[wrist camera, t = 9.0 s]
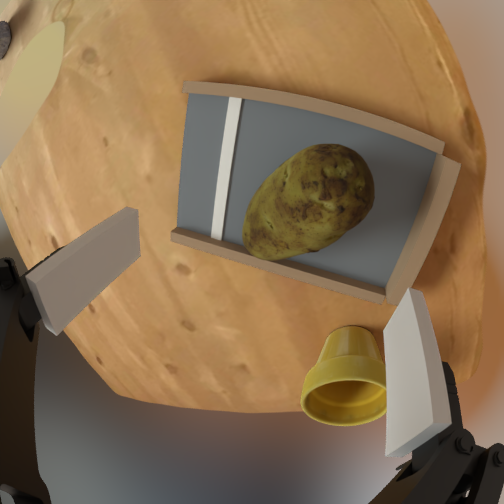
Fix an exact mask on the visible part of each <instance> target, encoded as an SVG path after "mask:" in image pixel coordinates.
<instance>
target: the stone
mask: <svg viewBox="0 0 504 504" xmlns="http://www.w3.org/2000/svg"><path fill="white" fill-rule="evenodd" d="M10 39H11V36H10V29H9V25H8V23H7V22H5V21H0V60H1V58H2V57H3V56H4V54H5V53H6V51H7V49H8V45H9V43H10Z"/></svg>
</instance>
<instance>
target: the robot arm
mask: <svg viewBox="0 0 504 504" xmlns="http://www.w3.org/2000/svg"><path fill="white" fill-rule="evenodd" d="M140 256H141V255H140V241H139V220H138V210H137V209H133V208H129V207H125V208H124V209H122V210H120V211H119V212H117V213H115V214H114V215H112V216H111V217H109V218H107V219H106V220H104V221H103V222H101V223H99V224H98V225H96V226H95V227H93V228H92V229H90V230H89V231H87V232H86V233H84V234H83V235H81V236H80V237H78V238H77V239H75V240H74V241H72V242H71V243H69V244H68V245H66V246H63V247H61V248H58V249H57V250H56V251H54V252H53V253H51V254H50V256H47V257H46V258H44V260H42V261H40V262H39V263H38V264H36V265H35V266H34V267H32V268H31V269H30V270H29V271H27V272H26V273H25V274H23V275H22V276H21V277H19V274H18V271H17V268H16V266H15V262H14V260H13V259H12V258H2V259H0V490H2V491H5V492H7V493H9V494H10V495H11V496H12V498H13V499H14V502H15V504H51V500H50V495H49V492H48V489H47V486H46V484H45V483H44V482H43V480H42V479H41V477H40V474H39V470H38V463H37V454H36V443H35V428H34V381H35V364H36V354H37V345H38V337H39V336H38V335H39V329H40V328H39V323H38V321H39V320H40V319H41V318H42V320H43V322H44V324H45V326H46V328H47V329H48V330H50V331H51V332H53V333H54V334H55V335H58V334H59V333H60V332H61V331H62V330H63V329H64V328H65V327H66V326H67V325H68V324H69V323H70V322H71V321H72V320H73V319H74V318H75V317H76V316H77V315H78V314H79V313H80V312H81V311H82V310H83V309H84V308H85V307H86V306H87V305H88V304H89V303H90V302H91V301H92V300H93V299H94V298H95V297H96V296H98V295H99V294H100V293H101V292H102V291H103V290H104V289H105V288H106V287H107V286H108V285H109V284H110V283H111V282H112V281H114V280H115V279H116V278H117V277H118V276H119V275H120V274H121V273H122V272H123V271H125V270H126V269H127V268H128V267H129V266H130V265H131V264H132V263H133V262H135V261H136V260H137V259H138V258H139V257H140ZM383 335H384V348H385V363H386V388H387V427H386V451H385V456H388V457H404V456H405V455H407V454H409V453H410V452H412V459H411V460H409V461H407V462H405V463H404V464H402V465H400V466H399V467H397V468H396V470H399V469H401V468H402V469H401V470H400V471H399V472H398V474H397V475H396V476H395V477H394V478H393V479H392V480H391V481H390V483H388V485H386V487H385V488H384V489H383V490H382V491H381V492H380V493H379V494H378V495H377V496H376V497H375V498H374V499H373V500H372V501H370V502H369V503H368V504H498V502H499V498H500V495H501V491H502V488H503V484H504V445H503V444H500V443H496V444H494V445H492V446H491V447H489V448H488V449H486V448H483V447H480V446H478V445H476V444H475V441H474V437H473V436H472V434H471V433H470V432H469V431H468V430H466V429H463V424H462V417H461V410H460V404H459V398H458V395H457V388H456V386H455V385H456V383H455V378H454V373H453V371H452V370H451V368H450V366H449V364H448V363H447V362H442V361H441V357H440V353H439V349H438V345H437V341H436V337H435V333H434V329H433V326H432V322H431V319H430V315H429V312H428V308H427V305H426V302H425V299H424V296H423V293H422V291H419V290H416V289H412V288H409V287H408V289H407V291H406V293H405V294H404V296H403V298H402V300H401V301H400V303H399V305H398V307H397V308H396V310H395V312H394V314H393V315H392V317H391V319H390V320H389V322H388V323H387V325H386V327H385V328H384V330H383ZM468 490H470V491H469V494H468V497H465V496H466V492H467V491H468ZM0 504H2V502H1V497H0Z"/></svg>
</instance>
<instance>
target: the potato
mask: <svg viewBox="0 0 504 504" xmlns="http://www.w3.org/2000/svg"><path fill="white" fill-rule="evenodd" d="M374 194H375V187H374V180H373V176H372V173H371V171H370V169H369V167H368V165H367V163H366V162H365V160H364V159H363V158H362V157H361V155H359V154H358V153H357V152H356V151H354V150H353V149H350V148H348V147H346V146H343V145H340V144H316V145H312V146H309V147H307V148H305V149H303V150H301V151H299V152H298V153H296V154H295V155H293V156H292V157H290V158H289V159H288V160H286V161H285V162H284V163H282V164H281V165H280V166H279V167H278V168H277V169H276V170H275V171H274V172H273V173H272V174H271V175H270V176H268V177H267V178H266V179H265V181H264V182H263V183H262V184H261V186H260V187H259V188H258V190H257V191H256V192H255V194H254V195H253V197H252V199H251V201H250V203H249V205H248V208H247V211H246V214H245V218H244V223H243V228H242V240H243V244H244V246H245V248H246V249H247V250H248V251H249V252H250V253H251V254H252V255H253V256H255V257H256V258H258V259H261V260H266V261H275V260H281V259H286V258H290V257H294V256H297V255H301V254H305V253H310V252H311V253H312V252H313V253H314V252H318V251H319V250H320V249H323V248H325V247H327V246H329V245H331V244H333V243H334V242H335V241H337V240H338V239H340V238H341V237H342V236H343V235H344V234H345V233H346V232H347V231H349V230H351V229H352V228H354V227H355V226H357V225H358V224H359V223H360V222H361V221H362V220H363V219H364V218H365V217H366V216H367V214H368V213H369V211H370V210H371V209H372V207H373V202H374V199H375V196H374Z"/></svg>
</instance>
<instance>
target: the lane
mask: <svg viewBox="0 0 504 504" xmlns="http://www.w3.org/2000/svg"><path fill="white" fill-rule="evenodd" d="M182 93H189V98H188V105H187V113H186V121H185V130H184V139H183V148H182V159H181V171H180V184H179V199H178V217H177V227H176V228H175V229H174V230H172V231H171V241H172V242H175V243H178V244H182V245H185V246H188V247H191V248H194V249H197V250H201V251H204V252H207V253H210V254H213V255H217V256H220V257H223V258H226V259H229V260H233V261H236V262H239V263H242V264H246V265H249V266H252V267H255V268H259V269H262V270H265V271H269V272H272V273H275V274H278V275H282V276H285V277H288V278H292V279H295V280H298V281H302V282H305V283H308V284H312V285H315V286H319V287H322V288H325V289H329V290H332V291H336V292H339V293H342V294H346V295H349V296H353V297H356V298H360V299H363V300H366V301H370V302H373V303H377V304H380V305H382V303H383V301H384V299H385V297H386V299H387V303H389V304H392V305H396V306H398V305H399V303H400V301H401V300H402V298H403V296H404V294H405V293H406V291H407V289H408V287H409V288H411V287H412V285H413V283H414V281H415V279H416V277H417V275H418V273H419V271H420V269H421V267H422V265H423V263H424V261H425V259H426V257H427V255H428V252H429V250H430V248H431V246H432V243H433V241H434V239H435V237H436V234H437V232H438V229H439V227H440V225H441V222H442V220H443V217H444V214H445V212H446V209H447V207H448V204H449V201H450V198H451V196H452V193H453V190H454V187H455V184H456V181H457V178H458V174H459V171H460V168H461V165H462V164H460V163H458V162H456V161H454V160H451V159H449V158H447V157H445V156H443V155H442V153H443V149H444V146H445V142H443V141H441V140H439V139H437V138H434V137H432V136H430V135H427V134H425V133H423V132H420V131H418V130H415V129H413V128H410V127H408V126H405V125H403V124H400V123H397V122H395V121H392V120H389V119H386V118H383V117H380V116H377V115H374V114H371V113H368V112H365V111H362V110H358V109H355V108H352V107H348V106H344V105H341V104H337V103H333V102H329V101H325V100H321V99H317V98H313V97H308V96H303V95H299V94H294V93H288V92H283V91H277V90H271V89H265V88H258V87H251V86H243V85H234V84H224V83H213V82H197V81H184V82H183V89H182ZM316 144H340V145H343V146H346V147H348V148H350V149H353V150H354V151H356V152H357V153H358V154H359V155H361V157H362V158H363V159H364V160H365V162H366V163H367V165H368V167H369V169H370V171H371V173H372V176H373V180H374V187H375V194H374V196H375V199H374V202H373V207H372V209H371V210H370V211H369V213H368V214H367V216H366V217H365V218H364V219H363V220H362V221H361V222H360V223H359V224H358V225H357V226H355V227H354V228H352V229H351V230H349V231H347V232H346V233H345V234H344V235H343V236H342V237H341V238H340V239H338V240H337V241H335V242H334V243H333V244H331V245H329V246H327V247H325V248H323V249H320V250H319V251H318V252H314V253H313V252H312V253H311V252H310V253H305V254H301V255H297V256H294V257H290V258H286V259H281V260H275V261H266V260H261V259H258V258H256V257H255V256H253V255H252V254H251V253H250V252H249V251H248V250H247V249H246V248H245V246H244V244H243V240H242V228H243V223H244V218H245V214H246V211H247V208H248V205H249V203H250V201H251V199H252V197H253V195H254V194H255V192H256V191H257V190H258V188H259V187H260V186H261V184H262V183H263V182H264V181H265V179H266V178H267V177H268V176H270V175H271V174H272V173H273V172H274V171H275V170H276V169H277V168H278V167H279V166H280V165H281V164H282V163H284V162H285V161H286V160H288V159H289V158H290V157H292V156H293V155H295V154H296V153H298V152H299V151H301V150H303V149H305V148H307V147H309V146H312V145H316Z"/></svg>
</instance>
